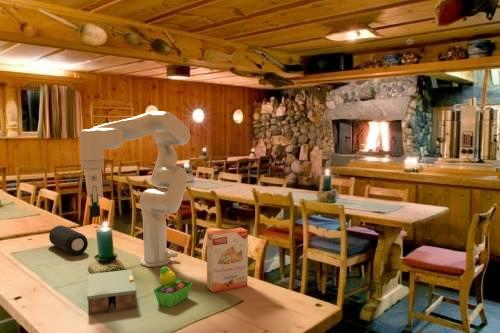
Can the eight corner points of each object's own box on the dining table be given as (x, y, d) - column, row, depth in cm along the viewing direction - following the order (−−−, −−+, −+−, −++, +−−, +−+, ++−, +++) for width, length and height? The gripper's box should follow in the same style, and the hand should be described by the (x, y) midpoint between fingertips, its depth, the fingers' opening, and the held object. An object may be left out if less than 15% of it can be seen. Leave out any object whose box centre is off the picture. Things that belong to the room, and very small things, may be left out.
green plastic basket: (170, 310, 133) (169, 275, 132) (149, 303, 138) (149, 270, 137) (193, 297, 143) (192, 265, 142) (173, 292, 148) (173, 261, 147)
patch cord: (112, 286, 150) (112, 283, 150) (114, 309, 131) (114, 305, 131) (108, 287, 149) (108, 283, 149) (110, 310, 131) (109, 305, 131)
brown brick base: (131, 285, 153) (131, 272, 153) (136, 308, 135) (136, 293, 134) (89, 291, 148) (89, 277, 148) (88, 315, 130) (87, 299, 129)
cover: (131, 272, 153) (131, 267, 153) (136, 293, 134) (136, 288, 134) (88, 276, 148) (88, 272, 148) (87, 299, 129) (87, 294, 129)
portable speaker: (90, 253, 193) (89, 232, 192) (68, 258, 186) (67, 236, 185) (68, 242, 211) (67, 223, 210) (47, 246, 204) (46, 226, 203)
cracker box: (212, 293, 146) (212, 234, 144) (206, 287, 152) (205, 230, 150) (248, 286, 153) (248, 230, 151) (241, 281, 158) (241, 226, 156)
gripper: (105, 166, 141) (108, 220, 143) (102, 162, 154) (105, 211, 157) (81, 167, 138) (84, 222, 140) (80, 163, 152) (83, 213, 154)
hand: (95, 216), depth 148 cm, fingers closed
